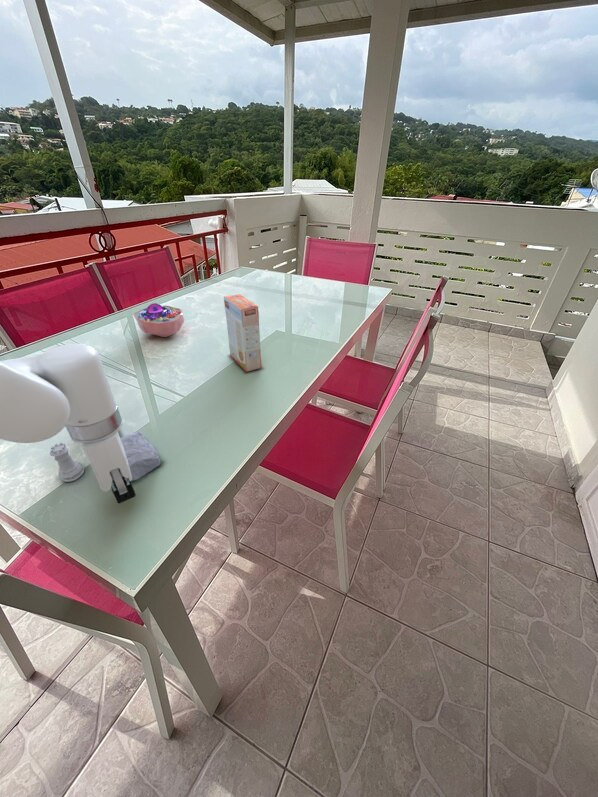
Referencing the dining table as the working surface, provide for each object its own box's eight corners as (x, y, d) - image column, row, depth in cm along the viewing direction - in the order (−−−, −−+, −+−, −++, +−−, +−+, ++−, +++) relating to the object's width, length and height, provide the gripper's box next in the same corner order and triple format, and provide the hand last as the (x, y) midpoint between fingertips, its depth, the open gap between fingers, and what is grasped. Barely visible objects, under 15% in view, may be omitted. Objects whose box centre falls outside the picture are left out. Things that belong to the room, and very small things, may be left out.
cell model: (150, 348, 119) (142, 318, 112) (133, 331, 132) (125, 303, 125) (194, 336, 128) (189, 308, 121) (175, 321, 140) (169, 294, 134)
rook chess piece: (55, 481, 68) (38, 453, 64) (71, 465, 72) (56, 438, 67) (75, 484, 68) (59, 456, 63) (89, 468, 71) (75, 440, 67)
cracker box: (262, 368, 108) (259, 305, 96) (245, 373, 105) (239, 309, 93) (245, 351, 118) (240, 292, 106) (229, 355, 115) (222, 295, 103)
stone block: (123, 494, 68) (166, 463, 72) (111, 480, 65) (156, 449, 69) (104, 465, 75) (144, 438, 79) (92, 451, 72) (134, 424, 76)
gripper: (61, 406, 55) (96, 481, 66) (74, 457, 46) (113, 536, 56) (109, 392, 59) (136, 465, 69) (131, 437, 49) (158, 514, 60)
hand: (126, 497), depth 63 cm, fingers closed
